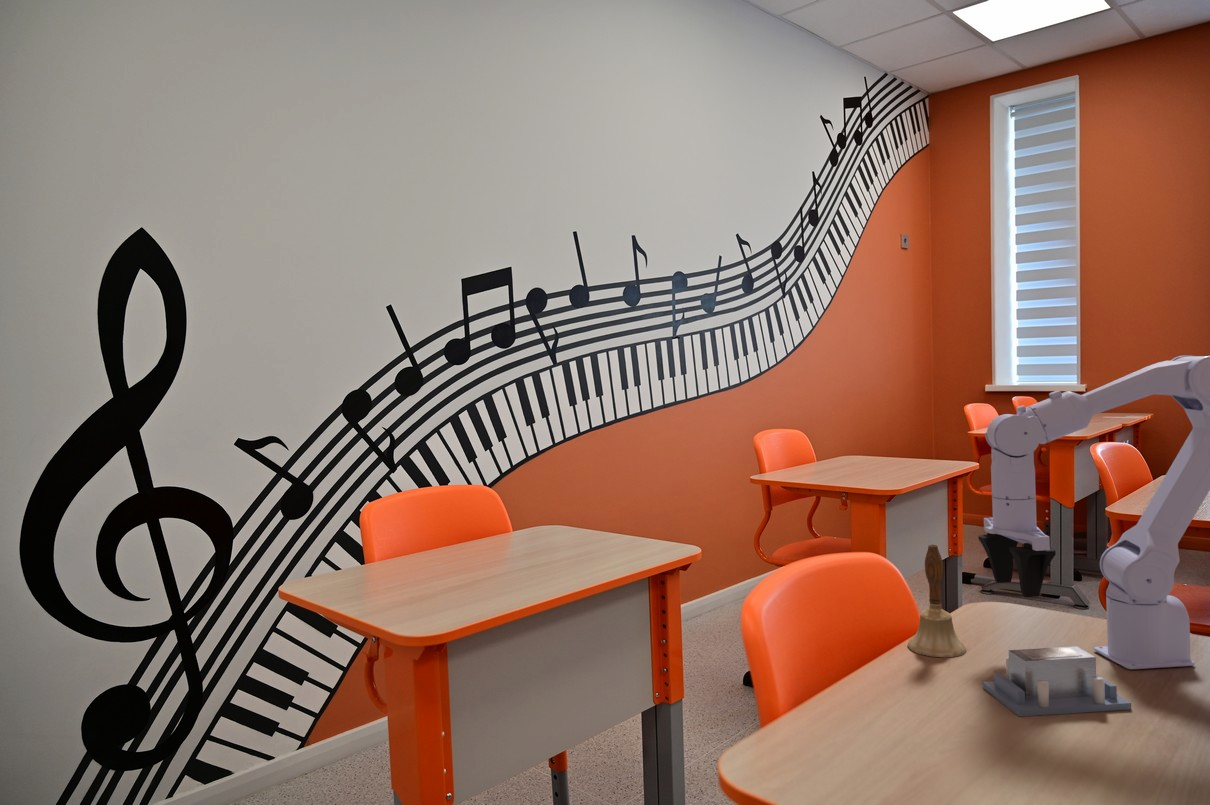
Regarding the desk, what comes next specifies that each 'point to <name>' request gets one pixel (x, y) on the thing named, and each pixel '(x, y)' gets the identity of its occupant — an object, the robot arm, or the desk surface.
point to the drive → (1053, 671)
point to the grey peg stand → (1016, 702)
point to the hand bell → (935, 617)
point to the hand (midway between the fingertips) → (1016, 588)
